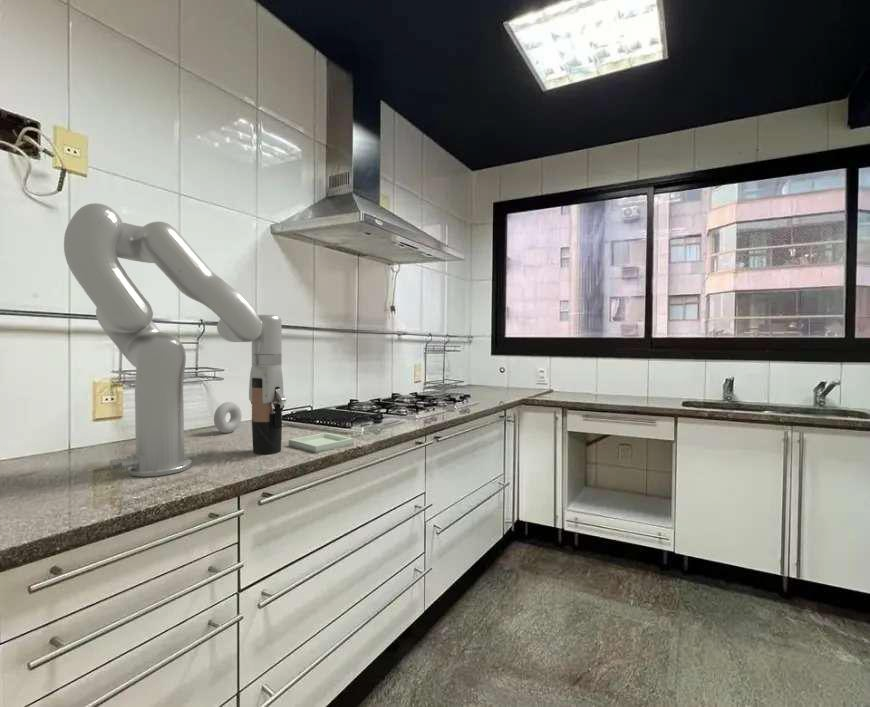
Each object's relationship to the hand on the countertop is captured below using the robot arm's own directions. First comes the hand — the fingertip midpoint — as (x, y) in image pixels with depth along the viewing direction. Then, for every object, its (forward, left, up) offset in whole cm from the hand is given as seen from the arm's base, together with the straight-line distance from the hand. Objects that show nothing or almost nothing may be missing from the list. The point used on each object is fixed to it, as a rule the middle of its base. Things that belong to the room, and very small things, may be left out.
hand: (267, 425), depth 122 cm
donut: (+5, +32, -7) cm, 33 cm away
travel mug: (0, 0, -7) cm, 7 cm away
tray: (+14, -5, -7) cm, 16 cm away
